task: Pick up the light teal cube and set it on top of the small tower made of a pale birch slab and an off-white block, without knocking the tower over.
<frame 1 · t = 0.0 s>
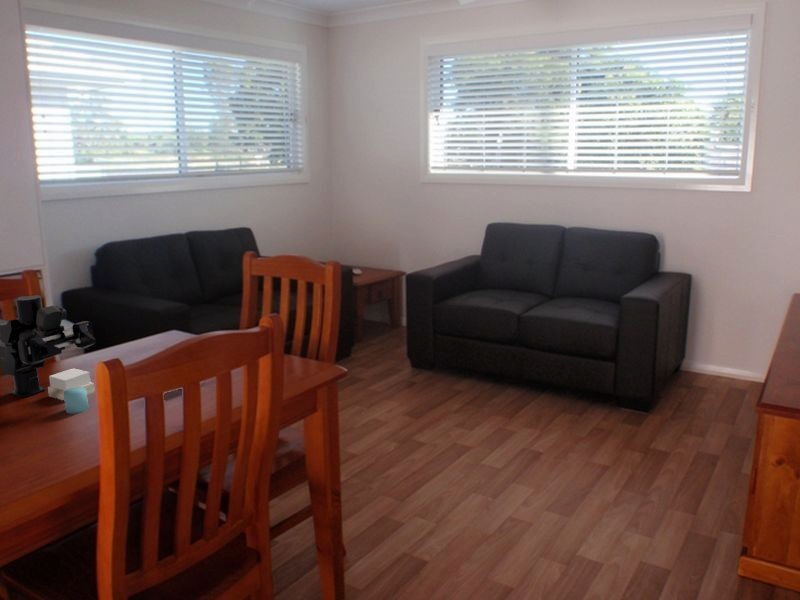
hand: (78, 346, 172), 17 cm above the table, tool horizontal, fingers open, 9 cm apart
light teal cube: (77, 409, 176), on the table
base slab: (72, 395, 187), on the table, touching top block
supplement bottle: (191, 385, 191), on the table
top block: (70, 384, 186), point 3 cm above the table, touching base slab
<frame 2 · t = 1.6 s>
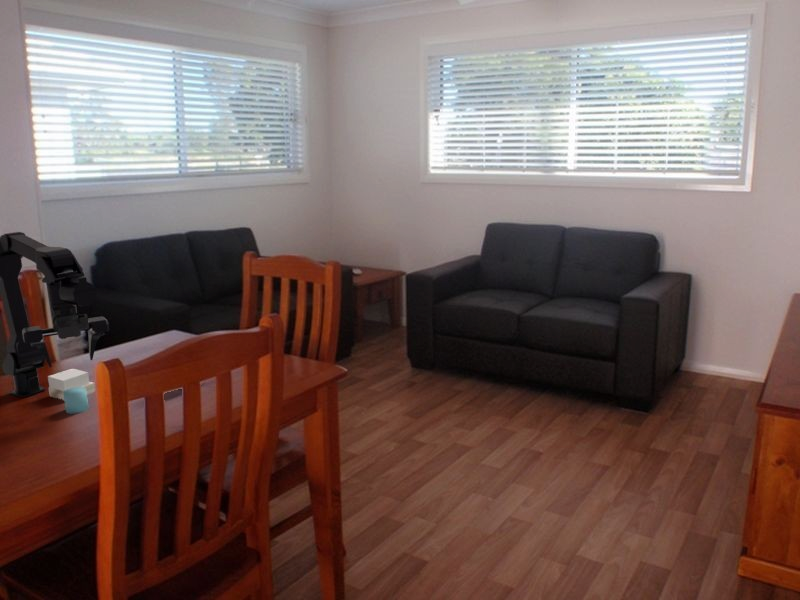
hand: (71, 363, 173), 12 cm above the table, tool pointing down, fingers open, 9 cm apart
nothing on the table moved.
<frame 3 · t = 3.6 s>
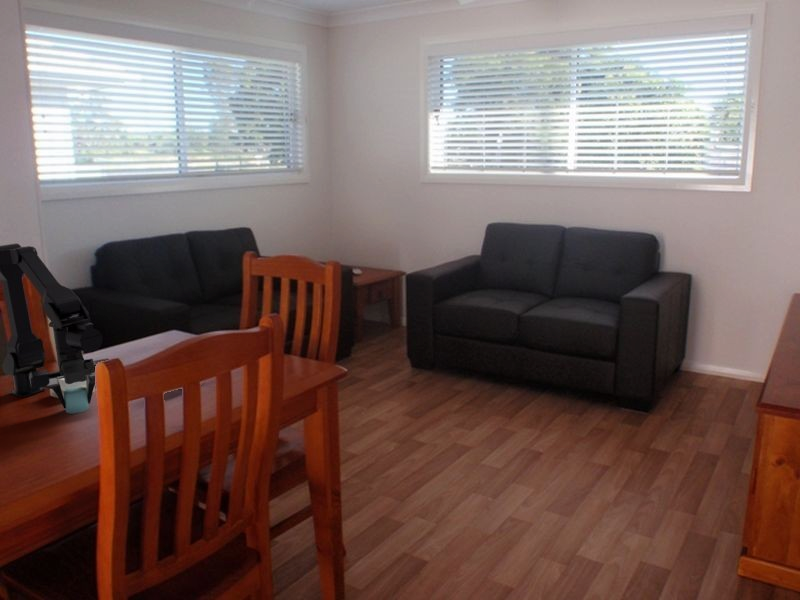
hand: (76, 405, 176), 1 cm above the table, tool pointing down, fingers closed on light teal cube, 5 cm apart
light teal cube: (77, 409, 176), on the table, touching gripper
everything else where it was.
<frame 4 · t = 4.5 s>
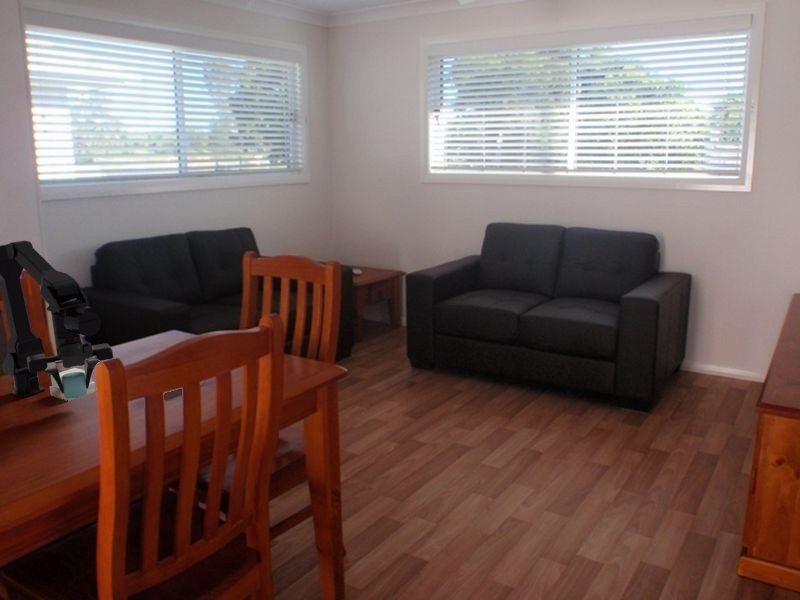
hand: (75, 390, 175), 5 cm above the table, tool pointing down, fingers closed on light teal cube, 5 cm apart
light teal cube: (75, 394, 175), point 4 cm above the table, touching gripper
base slab: (74, 395, 187), on the table
top block: (72, 384, 186), point 3 cm above the table
everything else where it was.
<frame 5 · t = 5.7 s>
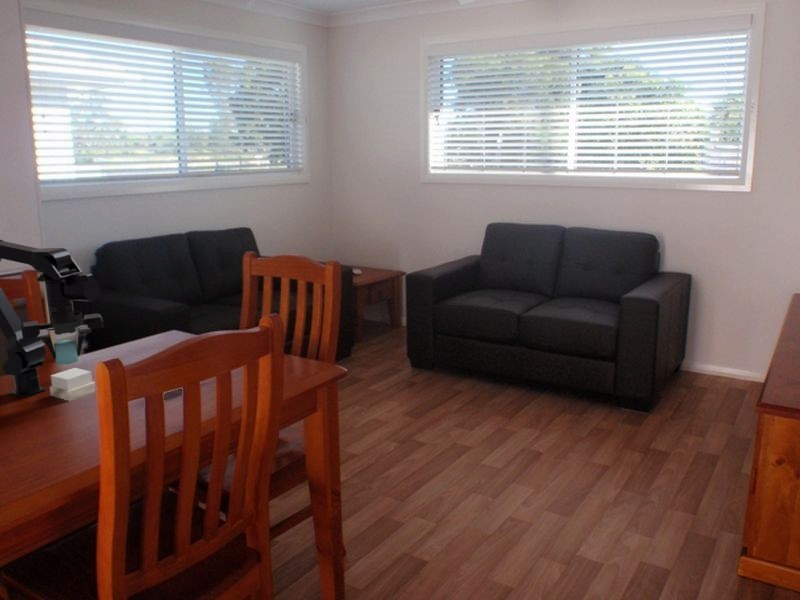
hand: (66, 357, 182), 11 cm above the table, tool pointing down, fingers closed on light teal cube, 5 cm apart
light teal cube: (67, 361, 182), point 10 cm above the table, touching gripper
base slab: (74, 395, 187), on the table, touching top block
top block: (72, 384, 187), point 3 cm above the table, touching base slab
everything else where it was.
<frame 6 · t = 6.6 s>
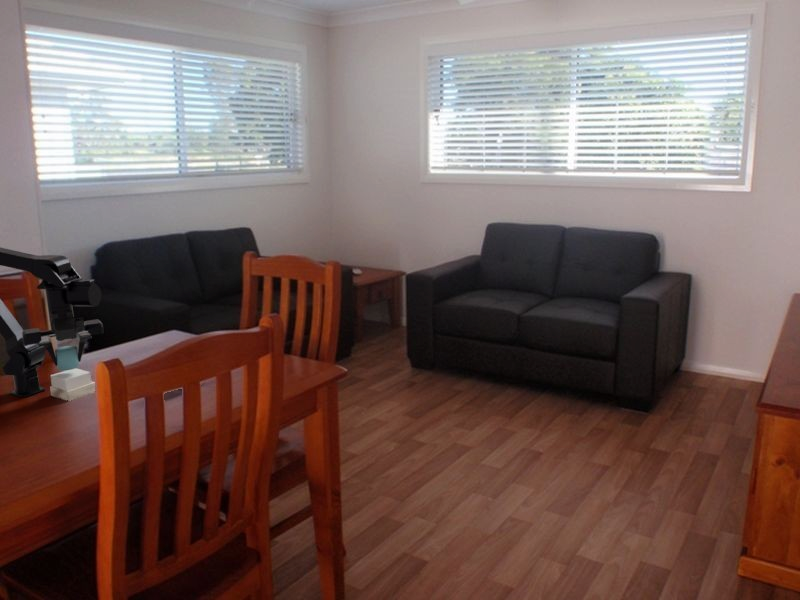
hand: (67, 363, 185), 9 cm above the table, tool pointing down, fingers closed on light teal cube, 5 cm apart
light teal cube: (68, 367, 185), point 7 cm above the table, touching gripper
base slab: (74, 395, 187), on the table
top block: (71, 384, 186), point 3 cm above the table
everything else where it was.
when the fingers open (8 cm above the table, at t = 7.2 s): light teal cube drops 2 cm, resting on top block.
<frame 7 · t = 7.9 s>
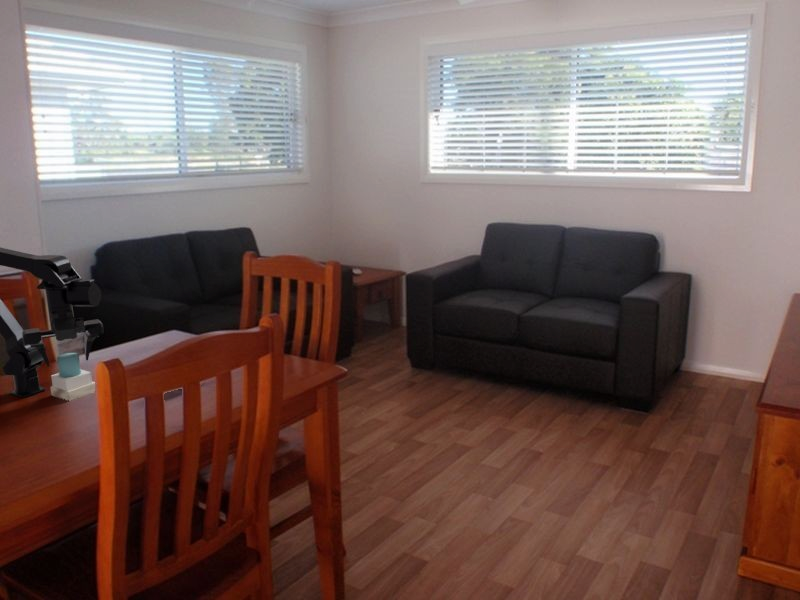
hand: (67, 363, 185), 8 cm above the table, tool pointing down, fingers open, 9 cm apart
light teal cube: (70, 374, 186), point 5 cm above the table, touching top block
base slab: (75, 395, 187), on the table, touching top block
top block: (72, 384, 187), point 2 cm above the table, touching base slab, light teal cube
everything else where it was.
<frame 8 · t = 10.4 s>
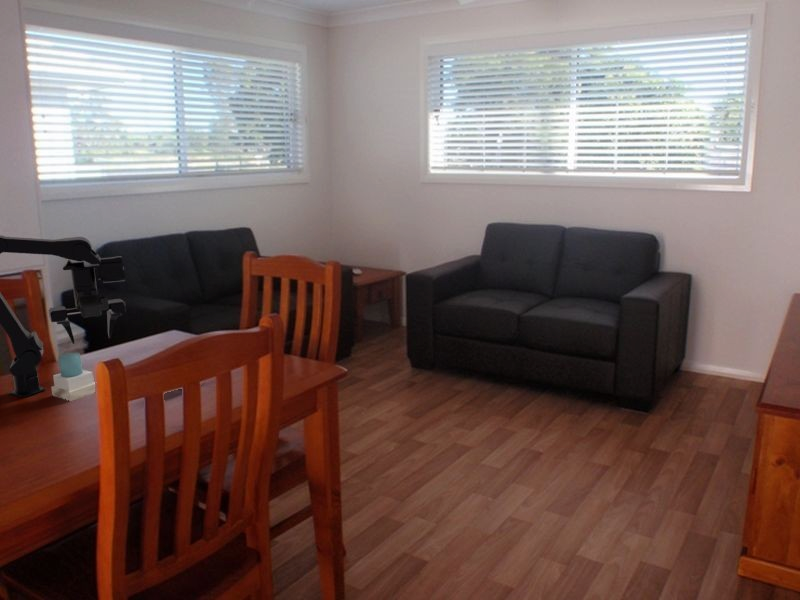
hand: (91, 340, 192), 12 cm above the table, tool pointing down, fingers open, 9 cm apart
nothing on the table moved.
at the end: light teal cube 0.3 cm off-centre on the top block, point 3.0 cm above the top block's base; top block moved 1.0 cm from its start; light teal cube tilted 0° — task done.
